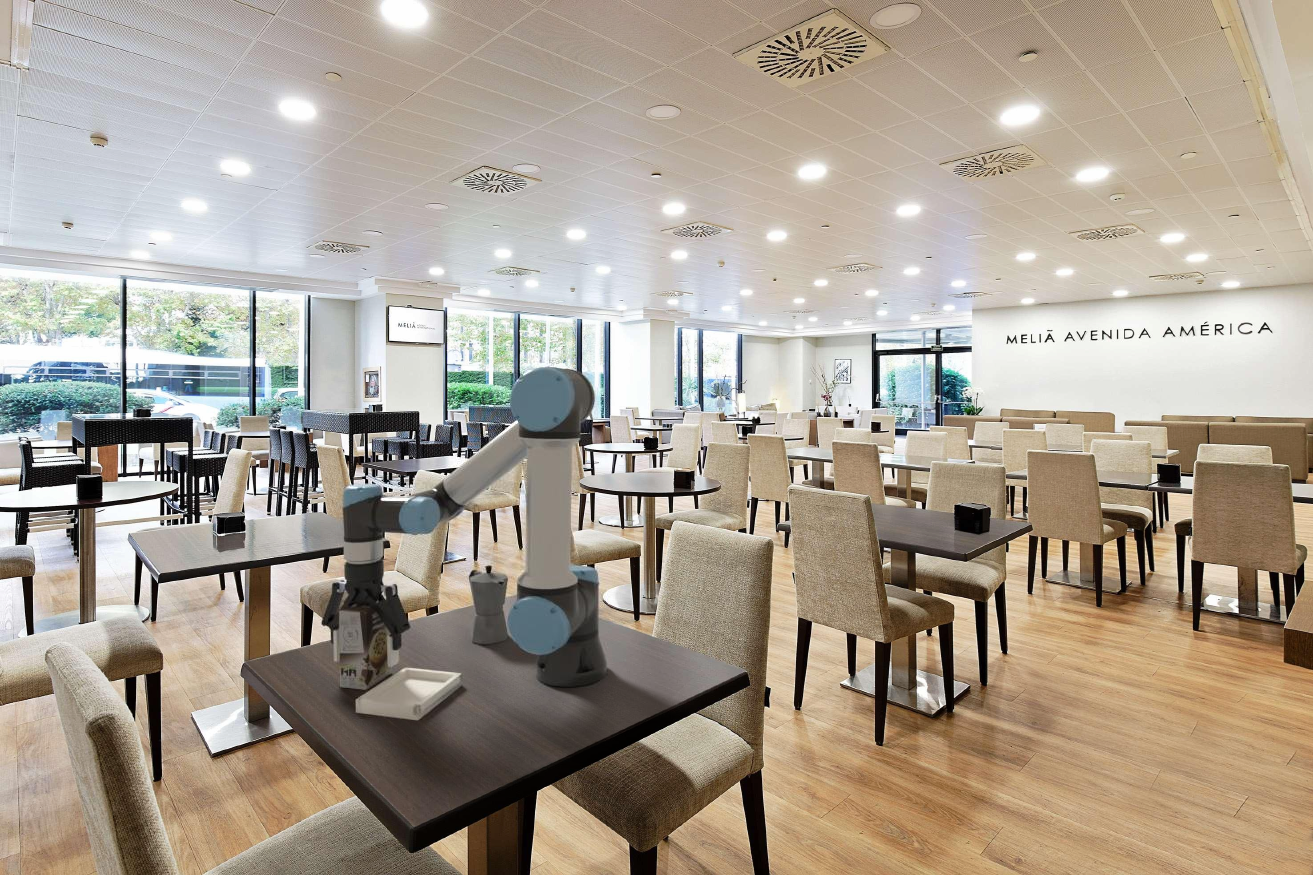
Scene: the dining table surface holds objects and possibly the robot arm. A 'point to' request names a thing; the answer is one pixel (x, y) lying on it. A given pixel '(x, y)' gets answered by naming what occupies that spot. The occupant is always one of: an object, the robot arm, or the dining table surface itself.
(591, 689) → the dining table surface
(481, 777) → the dining table surface
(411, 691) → the tray
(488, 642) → the coffeepot
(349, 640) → the coffee box
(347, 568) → the robot arm
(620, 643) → the dining table surface
